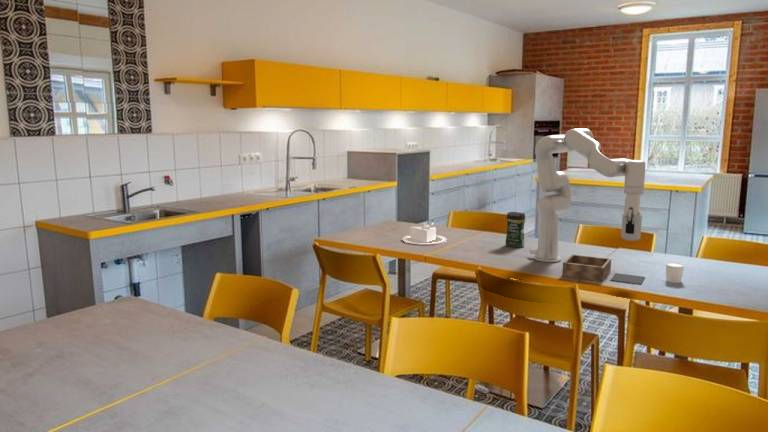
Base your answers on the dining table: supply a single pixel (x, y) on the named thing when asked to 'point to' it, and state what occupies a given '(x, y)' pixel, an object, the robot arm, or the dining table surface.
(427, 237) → the dish
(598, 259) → the crate
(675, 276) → the shot glass
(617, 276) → the mat
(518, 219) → the coffee jar
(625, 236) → the can
